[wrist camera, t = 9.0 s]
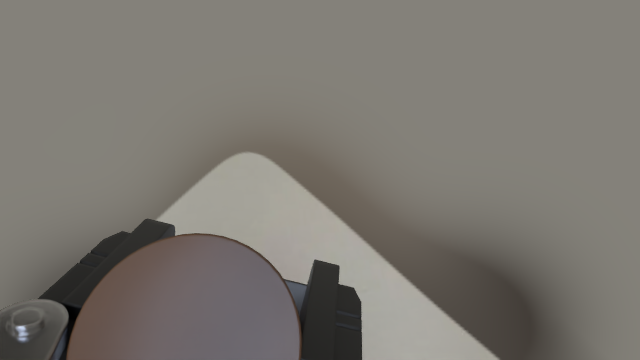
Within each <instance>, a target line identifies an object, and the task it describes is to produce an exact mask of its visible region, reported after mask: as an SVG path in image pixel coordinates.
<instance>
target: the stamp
mask: <svg viewBox="0 0 640 360" xmlns="http://www.w3.org/2000/svg"><path fill="white" fill-rule="evenodd" d="M306 288H307V285H306V284H302V283H298V282H294V281H290V280H286V279H283V278H282V276H281V275H280V273H279V272H278V271H277V270H276V269H275V267H274V266H273V265H272V264H271V263H270V262H269V261H268V260H267V259H266V258H264V257H263V256H262V255H261V254H260V253H258V252H257V251H255V250H254V249H252V248H250V247H249V246H247V245H245V244H243V243H241V242H239V241H236V240H233V239H230V238H227V237H224V236H218V235H213V234H200V233H194V234H182V235H177V236H172V237H167V238H164V239H161V240H158V241H155V242H153V243H151V244H148V245H146V246H144V247H142V248H140V249H138V250H137V251H135V252H133V253H132V254H130V255H128V256H127V257H126V258H124V259H123V260H122V261H121V262H119V263H118V264H117V265H115V266H114V267H113V268H112V269H111V270H110V271H109V272H108V273H107V274H106V275H105V276H104V277H103V278H102V279H101V281H100V282H99V283H98V284H97V285H96V287H95V288H94V289H93V291H92V292H91V294H90V295H89V297H88V298H87V300H86V301H85V303H84V305H83V307H82V309H81V311H80V313H79V315H78V317H77V319H76V322H75V324H74V327H73V330H72V332H71V336H70V340H69V344H68V349H67V356H66V360H301V355H302V333H301V323H300V319H299V315H300V311H301V306H302V303H303V299H304V295H305V292H306Z"/></svg>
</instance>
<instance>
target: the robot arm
mask: <svg viewBox="0 0 640 360" xmlns="http://www.w3.org/2000/svg"><path fill="white" fill-rule="evenodd" d="M172 236H175V227H174V225H171V224H167V223H163V222H159V221H155V220H151V219H145V220H144V221H143V222H142V223H141V224H140V225H139V226H138V227H137V228H136V229H135V230H134V231H133V232H132V233H127V232H123V231H122V232H120V233H117V234H115V235H112V236H110V237H108V238H106V239H104V240H102V241H101V242H100V243H99V244H98V245H97V246H96V247H95V248H94V249H93V250H91V253H88V254H87V255H86V256H85V257H84V258H82V259H81V261H80V263H77V264H76V265H75V266H74V267H73V268H71V269H70V270H69V271H68V272H67V273H66V274H65V275H64V276H63V277H61V278H60V279H59V280H58V281H57V282H56V283H55V284H54V285H53V286H51V287H50V288H49V289H48V290H47V291H46V292H45V293H44V294H43V295H41V296H40V297H39V298H38V299H33V300H26V301H21V302H18V303H15V304H12V305H9V306H7V307H5V308H3V309H1V310H0V360H66V356H67V349H68V344H69V340H70V336H71V332H72V330H73V327H74V324H75V322H76V319H77V317H78V315H79V313H80V311H81V309H82V307H83V305H84V303H85V301H86V300H87V298H88V297H89V295H90V294H91V292H92V291H93V289H94V288H95V287H96V285H97V284H98V283H99V282H100V281H101V279H102V278H103V277H104V276H105V275H106V274H107V273H108V272H109V271H110V270H111V269H112V268H113V267H114V266H115V265H117V264H118V263H119V262H121V261H122V260H123V259H124V258H126V257H127V256H128V255H130V254H132V253H133V252H135V251H137V250H138V249H140V248H142V247H144V246H146V245H148V244H151V243H153V242H155V241H158V240H161V239H164V238H167V237H172ZM338 282H339V265H335V264H331V263H327V262H322V261H318V260H314V263H313V266H312V270H311V273H310V277H309V281H308V284H307V288H306V292H305V295H304V299H303V303H302V306H301V311H300V315H299V319H300V323H301V333H302V355H301V360H362V332H361V329H362V321H361V301H360V299H359V297H358V295H357V293H356V291H355V289H354V288H352V287H348V286H344V285H340V284H338Z"/></svg>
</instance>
